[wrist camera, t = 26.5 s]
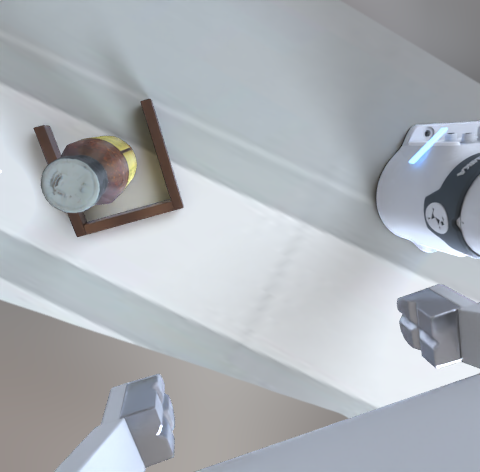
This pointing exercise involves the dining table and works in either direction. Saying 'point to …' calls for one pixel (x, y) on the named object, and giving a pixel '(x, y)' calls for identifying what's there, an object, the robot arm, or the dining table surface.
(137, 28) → the dining table surface
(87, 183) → the sauce bottle
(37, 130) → the bottle bay
